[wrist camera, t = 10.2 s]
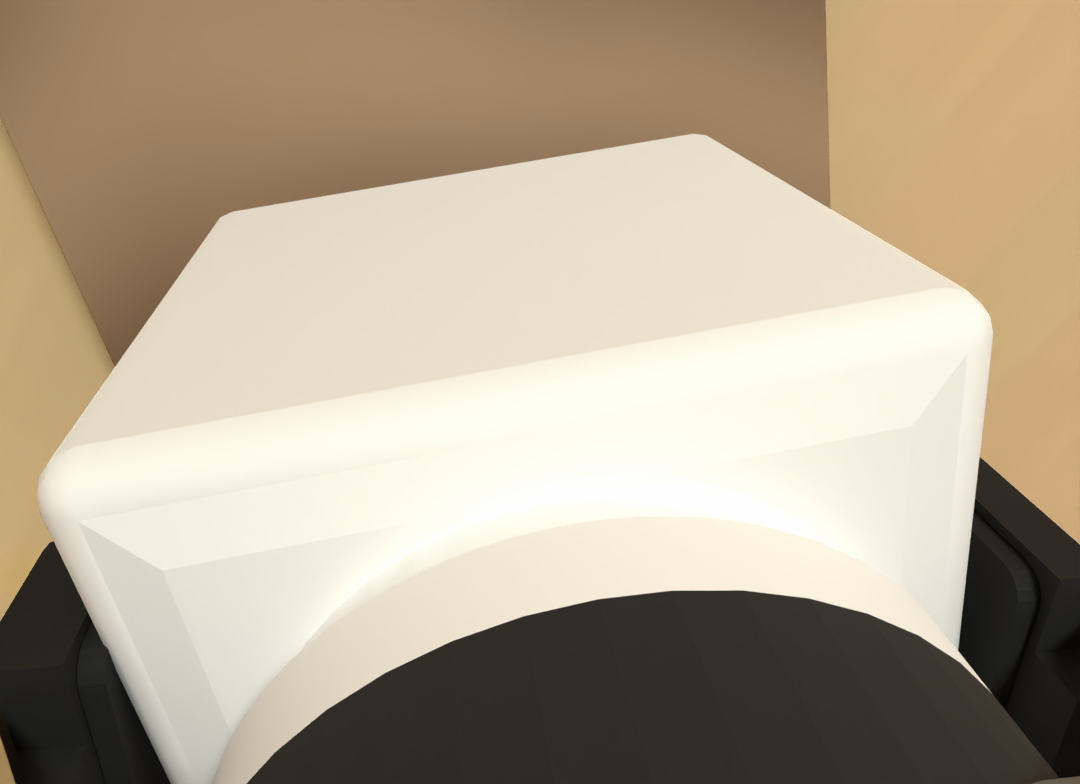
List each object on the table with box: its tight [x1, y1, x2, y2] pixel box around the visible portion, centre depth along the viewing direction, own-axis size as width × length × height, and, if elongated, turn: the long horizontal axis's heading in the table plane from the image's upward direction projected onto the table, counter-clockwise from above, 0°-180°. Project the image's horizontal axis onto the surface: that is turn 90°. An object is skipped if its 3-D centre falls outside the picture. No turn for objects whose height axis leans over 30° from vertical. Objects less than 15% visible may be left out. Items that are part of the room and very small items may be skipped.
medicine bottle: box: [37, 134, 1059, 784], centre depth 9 cm, size 7×7×12 cm
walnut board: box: [0, 0, 830, 366], centre depth 16 cm, size 20×12×2 cm, turn 11°
